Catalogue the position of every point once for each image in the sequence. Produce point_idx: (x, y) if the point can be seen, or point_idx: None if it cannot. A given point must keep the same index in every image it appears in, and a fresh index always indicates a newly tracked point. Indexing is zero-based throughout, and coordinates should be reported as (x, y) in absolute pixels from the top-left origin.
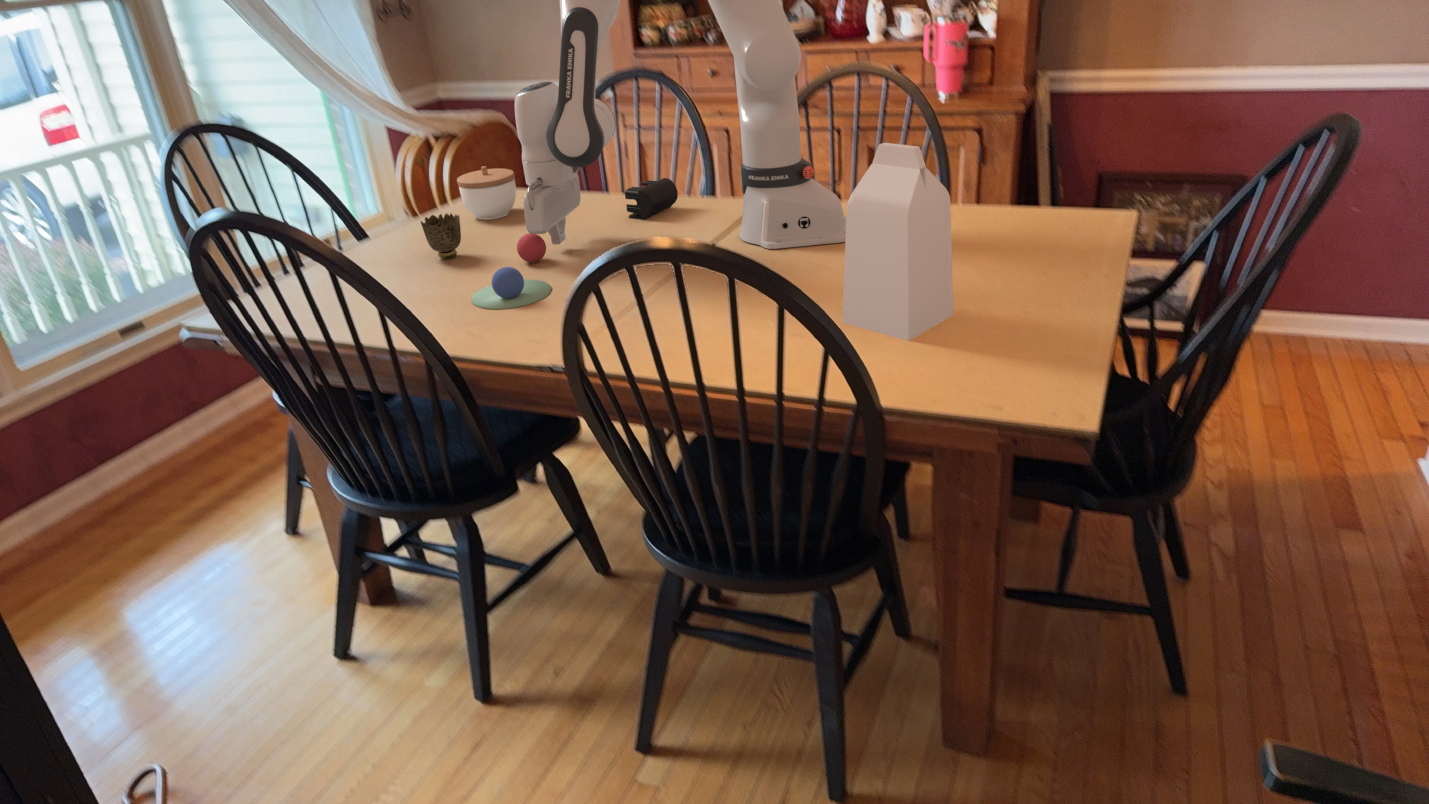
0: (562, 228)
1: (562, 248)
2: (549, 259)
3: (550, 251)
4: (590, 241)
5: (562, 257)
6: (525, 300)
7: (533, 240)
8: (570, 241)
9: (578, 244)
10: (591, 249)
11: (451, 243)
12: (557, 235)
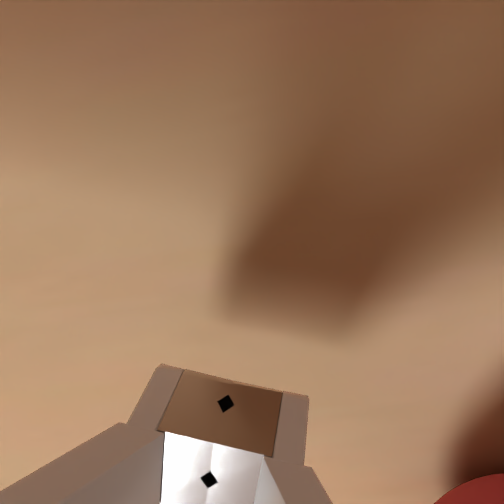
0: (130, 469)
1: (198, 340)
2: (484, 408)
3: None
4: (6, 119)
5: (466, 314)
6: None
7: None
8: (21, 301)
9: (97, 223)
10: (270, 50)
11: None
12: (313, 485)
